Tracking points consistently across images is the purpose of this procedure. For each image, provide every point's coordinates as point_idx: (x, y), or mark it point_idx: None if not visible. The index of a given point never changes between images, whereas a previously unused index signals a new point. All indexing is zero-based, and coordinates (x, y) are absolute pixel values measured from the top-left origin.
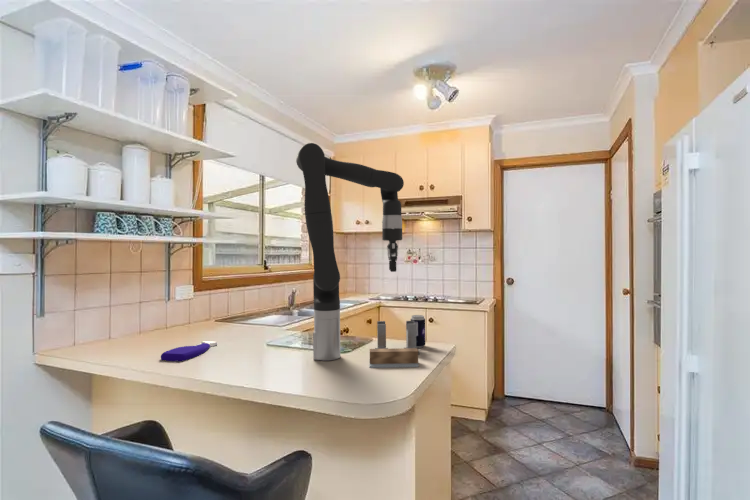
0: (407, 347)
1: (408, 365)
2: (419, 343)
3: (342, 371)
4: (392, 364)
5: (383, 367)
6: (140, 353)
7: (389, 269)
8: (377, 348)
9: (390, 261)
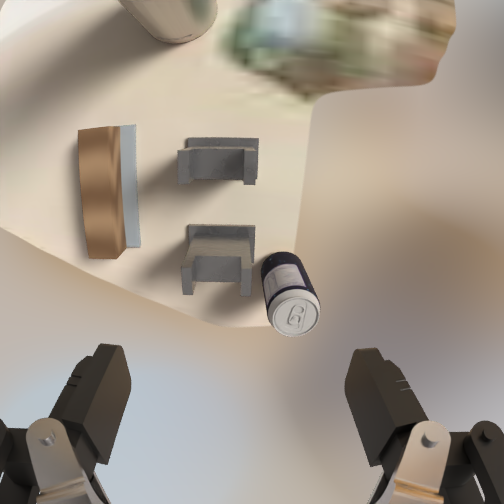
0: (210, 237)
1: None
2: (261, 276)
3: (63, 74)
4: None
5: None
6: None
7: (357, 350)
8: (251, 146)
9: (385, 429)
